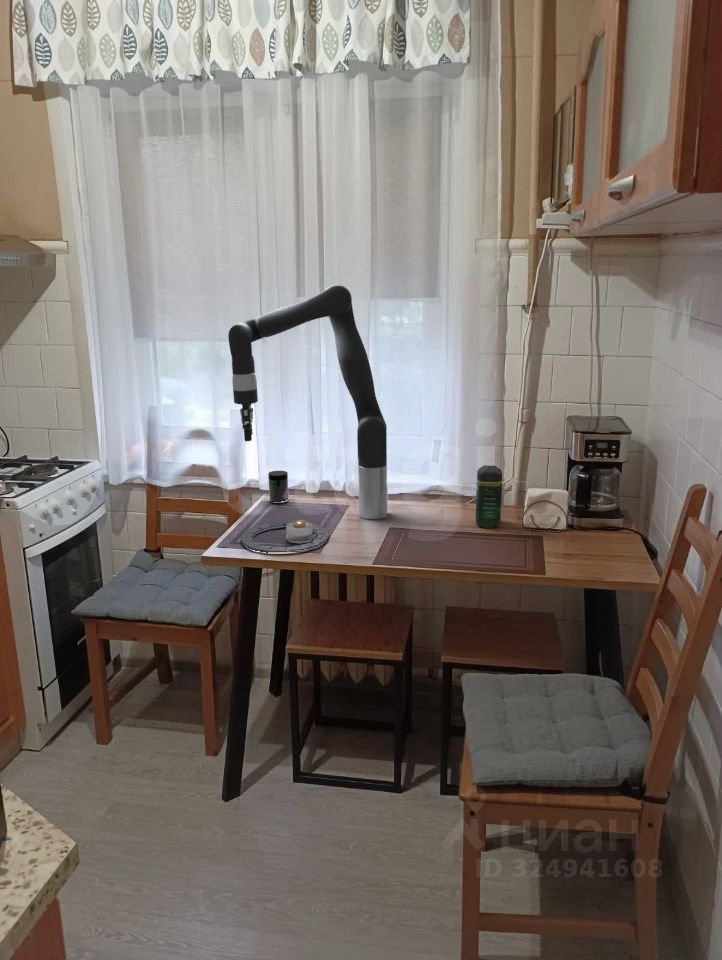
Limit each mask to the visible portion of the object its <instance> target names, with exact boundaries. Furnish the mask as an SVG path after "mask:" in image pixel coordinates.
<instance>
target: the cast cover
mask: <svg viewBox="0 0 722 960" xmlns="http://www.w3.org/2000/svg"><path fill="white" fill-rule="evenodd" d="M291 522H292V523H289V524H287V525H286V528H285V529H286V530H285V531H286V533H285V534H286V540H287V539H288V540H291V541H306V540H310V539H312V538H313V539H314V532H313V525H312V524H313V523H311V522H308V521H306V520H304V519H296V520H293V521H291Z"/></svg>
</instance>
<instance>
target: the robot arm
mask: <svg viewBox="0 0 722 960" xmlns="http://www.w3.org/2000/svg"><path fill="white" fill-rule="evenodd" d="M352 298H353V297H352V294H351V292H350V290H349V289H348V288H347V287H346V286H345V285H342V284H339V283H336V284H332V285H329V286H328V287H326V289H325V290H323V291H321V292H320V293H318V294H316V295H313V297H310V298H308V299H306V300H303V301H300V302H297V303H293V304H290V305H287V306H283V307H280V308H278V309H277V308H276V309H273V310H272V311H269V312H266V313H263V314H261V315H259V316H257V317H255V318H254V317H253V318H250V319H248V320H244V321H241V322H238V323H235V324H234V325H232V326H231V328H230V329H229V330H228V334H227V335H228V338H227V339H228V344H229V345H228V346H229V350H230V356H231V372H232V392H233V402H234V404H235V405H241V407H242V408H241V407H240V410H239V411H240V412H239V413H240V421H241V424H242V429H243V436H244V441H245V442H251V441H252V439H253V438H252V437H253V422H254V421H253V419H254V408H253V407H252V405H253V404H256V403H257V402H259V398H258V395H259V394H258V383H257V377H256V366H255V364H256V363H255V358H254V356H253V349H252V347H253V346H252V343H255V342H256V341H259V340H261V339H264V338H269V337H273V336H276V335H278V334H282V333H284V332H286V331H289V330H292V329H294V328H296V327H298V326H301V325H304V324H306V323H308V322H311V321H314V320H318V319H322V318H326V317H328V319H329V322H330V324H331V327H332V328H331V329H332V330H333V334H334V342H335V343H334V344H335V350H336V357H337V359H338V360H337V361H338V364H339V369H340V371H341V376H342V378H343V382H344V383H345V386H346V388H347V390H348V392H349V395H350V396H351V399H352V402H353V404H354V408H355V413H356V417H357V424H358V427H357V429H356V430H357V435H356V438H357V439H356V440H357V462H358V463H357V465H358V467H357V469H358V471H357V472H358V515H359V517H360V518H361V519H365V520H380V519H387V518H388V512H389V511H388V509H389V507H388V500H389V499H388V469H387V468H388V462H387V461H388V455H387V454H388V453H387V451H388V450H387V448H388V445H387V431H388V430H387V423H386V421H385V418H384V416H383V413H382V411H381V408H380V405H379V402H378V400H377V396H376V392H375V384H374V378H373V374H372V368H371V364H370V361H369V357H368V354H367V351H366V348H365V345H364V342H363V339H362V338H361V337H362V336H361V335H360V333H359V330H358V327H357V324H356V319H355V313H354V310H353V300H352Z"/></svg>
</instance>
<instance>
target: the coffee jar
mask: <svg viewBox="0 0 722 960" xmlns="http://www.w3.org/2000/svg"><path fill="white" fill-rule="evenodd" d="M475 496H476V497H475V524H476V526H477V527H482V528H485V529H492V528H498V527H499V526H501V517H502V501H503V500H502V498H503V497H502V496H503V472H502V469H501V468H499V467H498V466H496V465H490V464H489V465H486V464H484V465H483V466H481V467H479V468H478V469H477V471H476V495H475Z"/></svg>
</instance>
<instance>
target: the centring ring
mask: <svg viewBox="0 0 722 960" xmlns="http://www.w3.org/2000/svg"><path fill="white" fill-rule="evenodd" d="M292 522H293V521H277V522H269V523H268V522H267V523H264V524H261V525H257V526H253V527H251V528H250V529H248V530H246V531H244V532H243V534H242V535H241V537H240V542H241V541H242V542H241V544H242V543H243V544H242V546H243V545H244V546H246V547H248V548H250V549H252V550H255V551H260V552H266V553H268V552H287V551H295V550H304V549H309V548H313V547H317V546H319V545H321V544H322V543H325V542H328V541H327V539H328V540H329V538H330V533H329V532H328V530H327V529H326V528H325V527H323V526H321V525H318V524H316V523H311V524H312V525H313V530H314V531H316V532H317V534H318V536H317V537H316V538H315V539H313V541H311V542H309V543H306V544H298V545H294V546H293V545H292V546H284V547H283V546H269V545H264V544H263V545H262V544H260V543H257V542H255V541H254V540H253V539H252V537H253V535H254V534H256V533H257V532H259V531H261V530H264V529H268V528H271V527H279V526H286V525H287V524H289V523H292ZM328 537H329V538H328ZM253 538H254V537H253ZM244 546H243V547H244Z"/></svg>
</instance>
